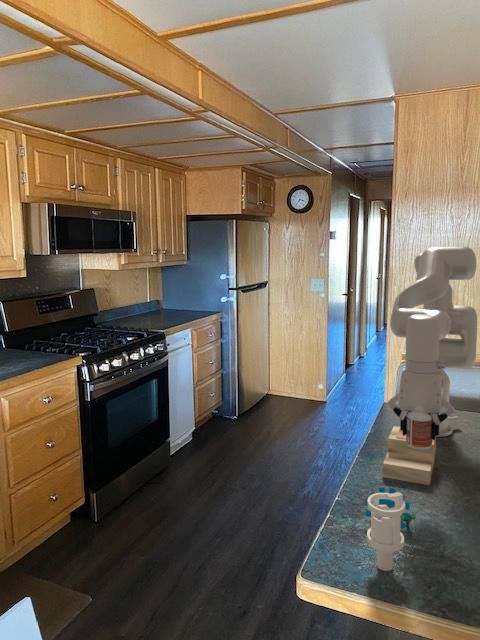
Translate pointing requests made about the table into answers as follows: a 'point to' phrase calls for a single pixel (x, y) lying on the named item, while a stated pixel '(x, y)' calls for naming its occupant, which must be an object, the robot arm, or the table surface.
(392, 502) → the gear
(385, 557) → the white flanged pipe fitting
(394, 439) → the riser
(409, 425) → the pill bottle
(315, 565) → the table surface
